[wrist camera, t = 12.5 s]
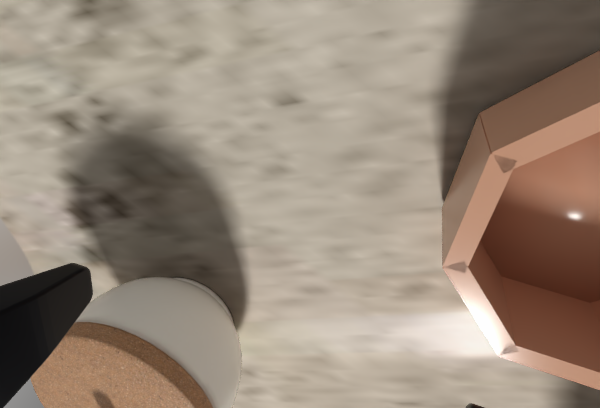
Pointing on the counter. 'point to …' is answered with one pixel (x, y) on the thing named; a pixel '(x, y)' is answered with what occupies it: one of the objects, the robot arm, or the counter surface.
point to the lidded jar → (146, 350)
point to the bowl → (533, 225)
